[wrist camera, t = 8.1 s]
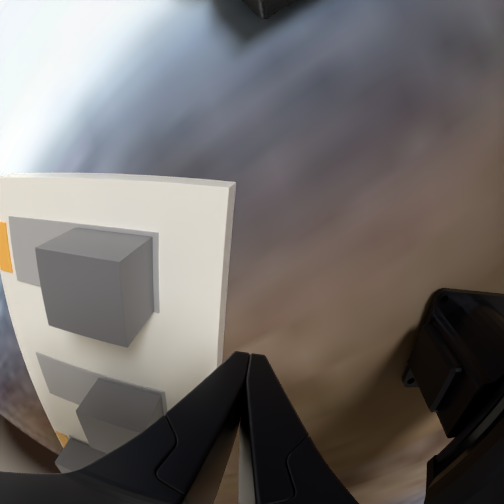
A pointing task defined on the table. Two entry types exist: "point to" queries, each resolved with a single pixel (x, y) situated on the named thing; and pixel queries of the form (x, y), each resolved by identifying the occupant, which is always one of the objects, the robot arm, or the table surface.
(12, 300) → the switch panel
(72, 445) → the tab
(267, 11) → the disk drive
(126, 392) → the tab middle
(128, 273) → the tab
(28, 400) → the table surface
